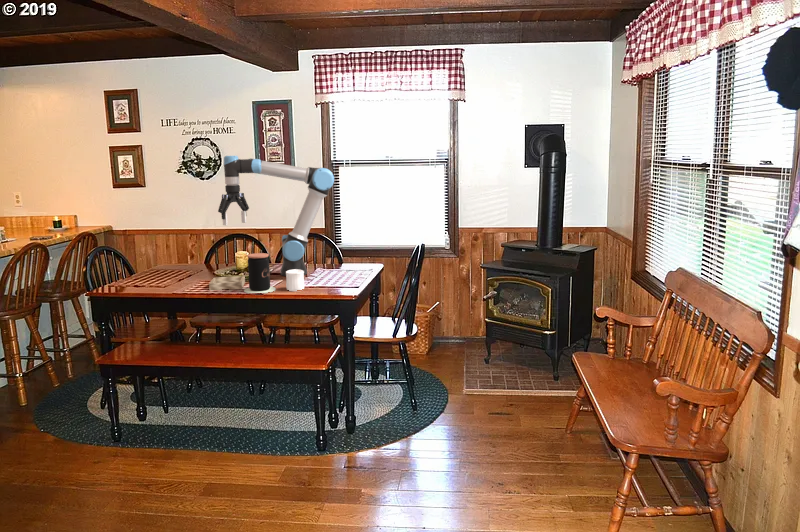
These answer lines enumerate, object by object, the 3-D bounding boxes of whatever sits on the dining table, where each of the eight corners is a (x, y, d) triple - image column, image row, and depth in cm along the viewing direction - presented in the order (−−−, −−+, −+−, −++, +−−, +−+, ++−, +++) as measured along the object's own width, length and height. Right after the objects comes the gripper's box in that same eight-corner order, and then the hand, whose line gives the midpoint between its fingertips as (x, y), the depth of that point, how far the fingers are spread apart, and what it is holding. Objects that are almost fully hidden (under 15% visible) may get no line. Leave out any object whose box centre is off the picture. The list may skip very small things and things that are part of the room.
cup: (288, 292, 333) (287, 273, 331) (283, 288, 342) (283, 270, 340) (307, 290, 336) (306, 271, 335) (301, 286, 345) (301, 268, 344)
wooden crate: (245, 282, 358) (244, 276, 357) (241, 288, 342) (241, 282, 341) (214, 283, 356) (213, 277, 355) (209, 290, 340) (209, 283, 339)
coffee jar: (265, 291, 331) (263, 256, 328) (245, 291, 334) (243, 256, 330) (273, 287, 342) (272, 253, 338) (254, 286, 344) (252, 252, 341)
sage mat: (276, 286, 346) (276, 285, 346) (274, 293, 331) (274, 292, 331) (245, 287, 344) (245, 286, 344) (242, 294, 329) (242, 293, 329)
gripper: (244, 183, 365) (246, 221, 369) (209, 185, 345) (212, 226, 348) (254, 183, 361) (256, 222, 365) (219, 186, 341) (222, 226, 344)
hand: (234, 224), depth 357 cm, fingers open, 13 cm apart
